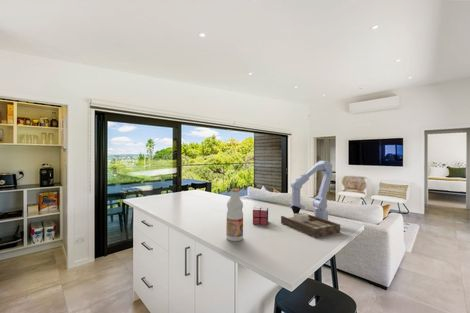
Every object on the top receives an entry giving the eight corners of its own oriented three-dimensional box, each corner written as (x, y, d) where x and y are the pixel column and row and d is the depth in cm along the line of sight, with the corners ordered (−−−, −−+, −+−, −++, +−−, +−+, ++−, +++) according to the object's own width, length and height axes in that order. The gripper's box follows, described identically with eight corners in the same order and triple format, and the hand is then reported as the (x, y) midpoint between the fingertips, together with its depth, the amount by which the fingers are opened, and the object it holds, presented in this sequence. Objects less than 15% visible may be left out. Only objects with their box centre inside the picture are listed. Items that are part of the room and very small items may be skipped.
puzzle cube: (267, 225, 151) (267, 210, 151) (252, 224, 153) (252, 209, 153) (268, 221, 161) (268, 207, 161) (254, 220, 163) (254, 206, 163)
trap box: (303, 219, 166) (303, 212, 166) (339, 232, 138) (340, 224, 138) (281, 223, 156) (281, 215, 156) (315, 237, 128) (315, 229, 128)
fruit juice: (224, 236, 130) (225, 188, 130) (240, 235, 132) (241, 187, 132) (228, 242, 121) (228, 190, 120) (244, 240, 123) (245, 190, 123)
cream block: (301, 218, 158) (301, 212, 158) (308, 220, 152) (308, 215, 152) (293, 219, 155) (293, 213, 155) (300, 222, 149) (300, 216, 149)
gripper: (285, 196, 162) (284, 215, 163) (299, 200, 149) (298, 220, 150) (292, 195, 166) (292, 213, 166) (306, 199, 153) (306, 219, 153)
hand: (295, 216), depth 158 cm, fingers closed
